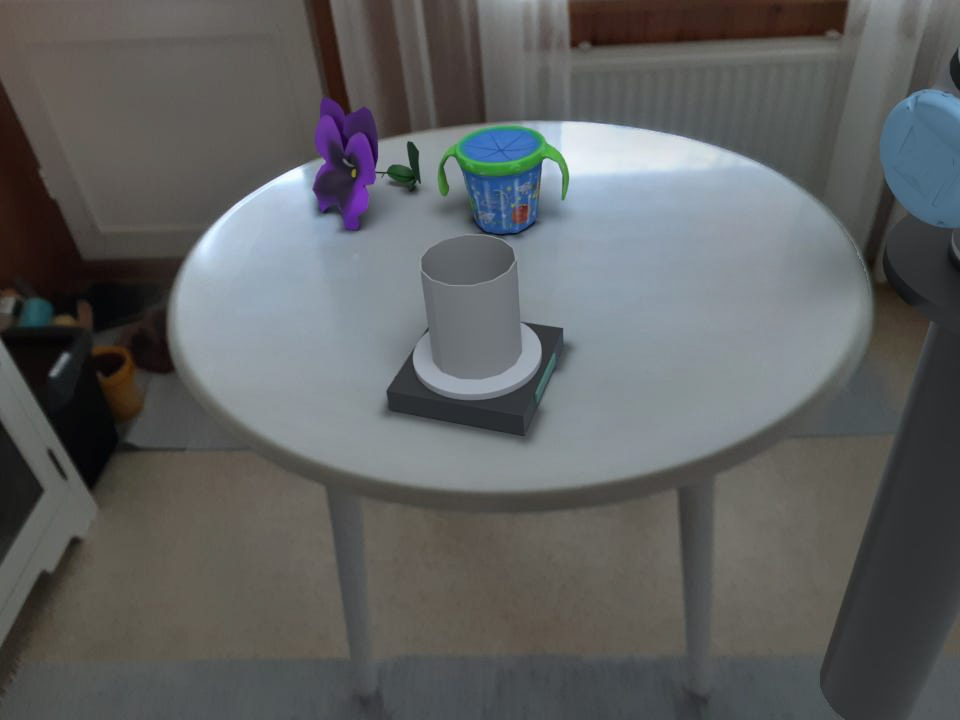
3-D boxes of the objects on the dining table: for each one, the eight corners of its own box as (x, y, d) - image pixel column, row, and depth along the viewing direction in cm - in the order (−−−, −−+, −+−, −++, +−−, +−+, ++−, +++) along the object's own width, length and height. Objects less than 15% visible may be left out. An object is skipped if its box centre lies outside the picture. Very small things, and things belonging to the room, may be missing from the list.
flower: (373, 209, 119) (289, 199, 110) (402, 103, 114) (316, 83, 105) (434, 247, 110) (347, 239, 100) (468, 133, 105) (380, 114, 95)
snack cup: (430, 236, 102) (420, 157, 96) (461, 195, 110) (453, 120, 103) (555, 250, 97) (553, 169, 91) (578, 207, 105) (578, 129, 99)
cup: (505, 316, 82) (498, 226, 76) (535, 365, 76) (530, 271, 70) (422, 337, 81) (408, 247, 75) (445, 389, 75) (433, 295, 68)
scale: (565, 347, 83) (565, 321, 81) (526, 436, 74) (524, 409, 72) (441, 328, 87) (438, 303, 85) (389, 410, 78) (384, 383, 76)
